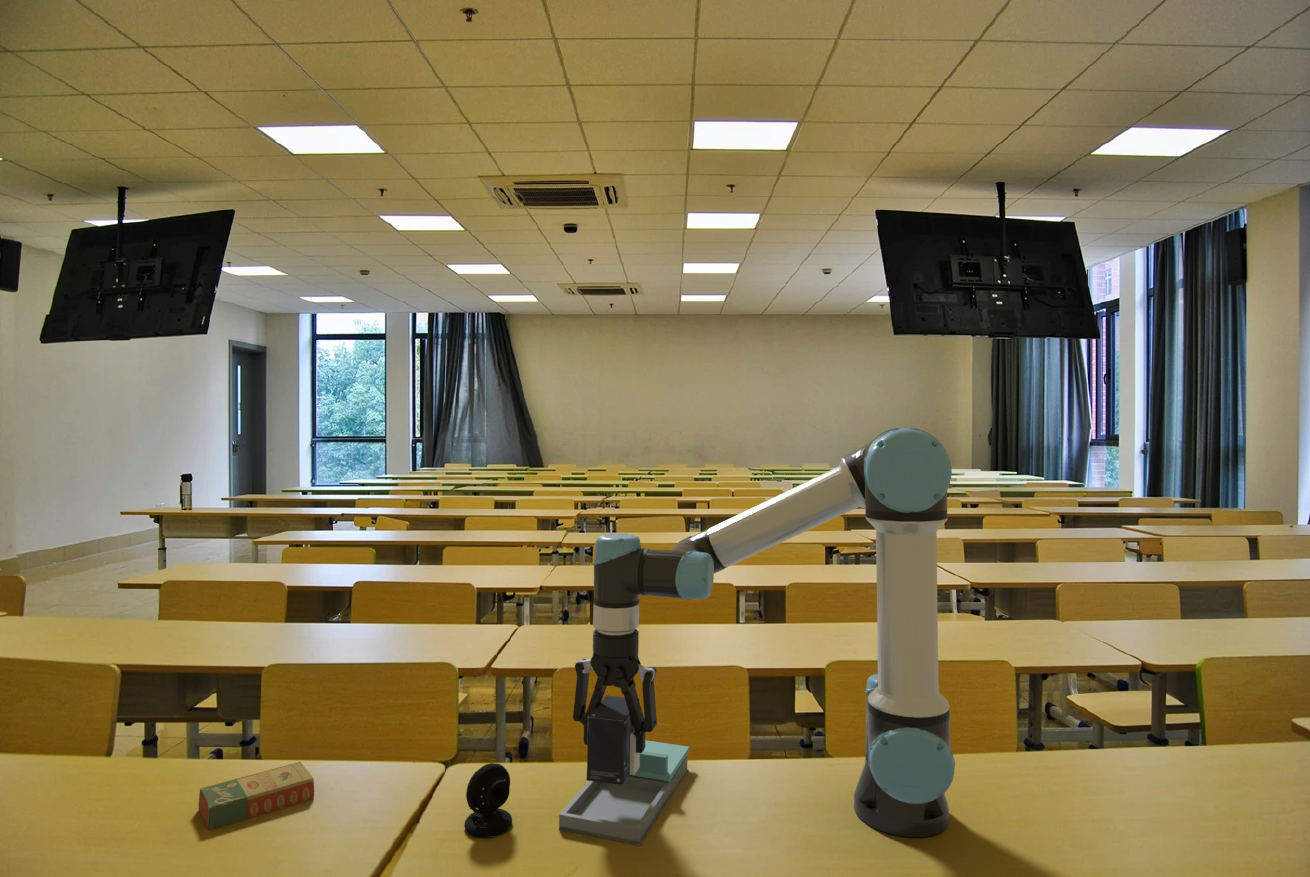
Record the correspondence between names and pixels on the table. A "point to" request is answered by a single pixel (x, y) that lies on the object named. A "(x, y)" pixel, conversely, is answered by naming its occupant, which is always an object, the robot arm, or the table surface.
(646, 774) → the lid
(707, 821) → the table surface
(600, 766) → the small box
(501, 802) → the webcam
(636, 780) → the tray
